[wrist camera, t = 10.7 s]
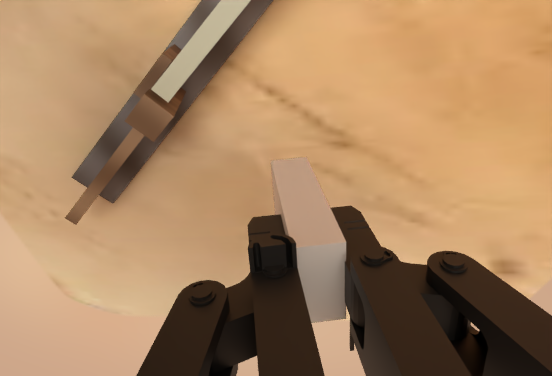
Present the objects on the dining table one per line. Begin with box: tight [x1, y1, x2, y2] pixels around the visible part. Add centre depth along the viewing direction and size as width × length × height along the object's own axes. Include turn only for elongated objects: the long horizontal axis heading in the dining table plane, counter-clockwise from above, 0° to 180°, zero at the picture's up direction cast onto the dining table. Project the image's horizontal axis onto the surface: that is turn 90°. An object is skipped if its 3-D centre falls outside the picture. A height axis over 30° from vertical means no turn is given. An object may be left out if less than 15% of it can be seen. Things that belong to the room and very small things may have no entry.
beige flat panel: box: [151, 0, 251, 102], centre depth 30 cm, size 14×1×8 cm, turn 138°
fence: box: [65, 0, 273, 224], centre depth 31 cm, size 38×4×9 cm, turn 139°
